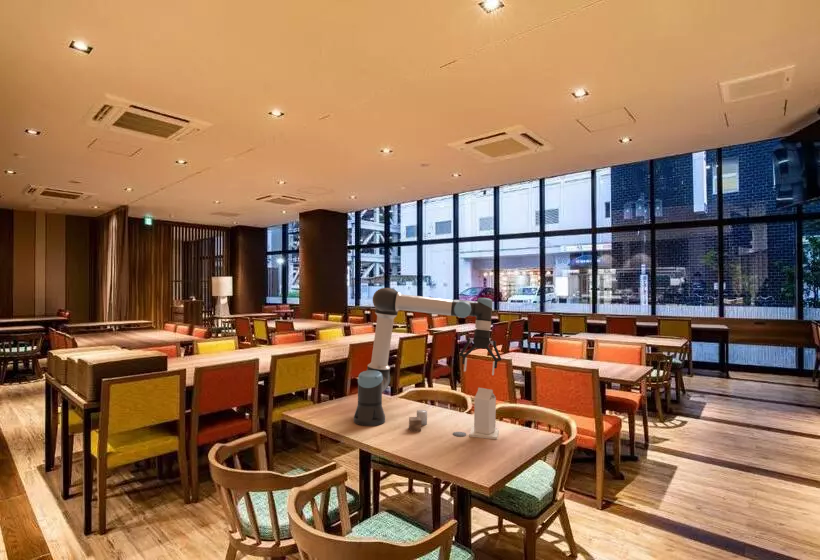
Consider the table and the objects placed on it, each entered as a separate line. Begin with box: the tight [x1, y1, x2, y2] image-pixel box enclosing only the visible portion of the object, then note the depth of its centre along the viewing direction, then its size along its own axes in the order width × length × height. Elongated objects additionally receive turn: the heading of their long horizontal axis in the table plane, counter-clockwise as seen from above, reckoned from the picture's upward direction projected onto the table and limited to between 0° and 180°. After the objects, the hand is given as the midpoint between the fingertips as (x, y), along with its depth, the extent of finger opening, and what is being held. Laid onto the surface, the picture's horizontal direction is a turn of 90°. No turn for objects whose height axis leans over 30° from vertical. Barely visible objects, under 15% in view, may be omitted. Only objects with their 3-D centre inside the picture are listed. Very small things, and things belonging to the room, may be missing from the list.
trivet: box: [469, 425, 500, 440], centre depth 193 cm, size 12×12×1 cm
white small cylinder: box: [416, 409, 428, 427], centre depth 205 cm, size 5×5×6 cm
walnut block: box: [408, 416, 422, 432], centre depth 197 cm, size 5×5×5 cm
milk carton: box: [473, 387, 497, 435], centre depth 193 cm, size 7×7×19 cm
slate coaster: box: [452, 431, 467, 438], centre depth 191 cm, size 6×6×1 cm
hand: (478, 373), depth 210 cm, fingers open, 13 cm apart
